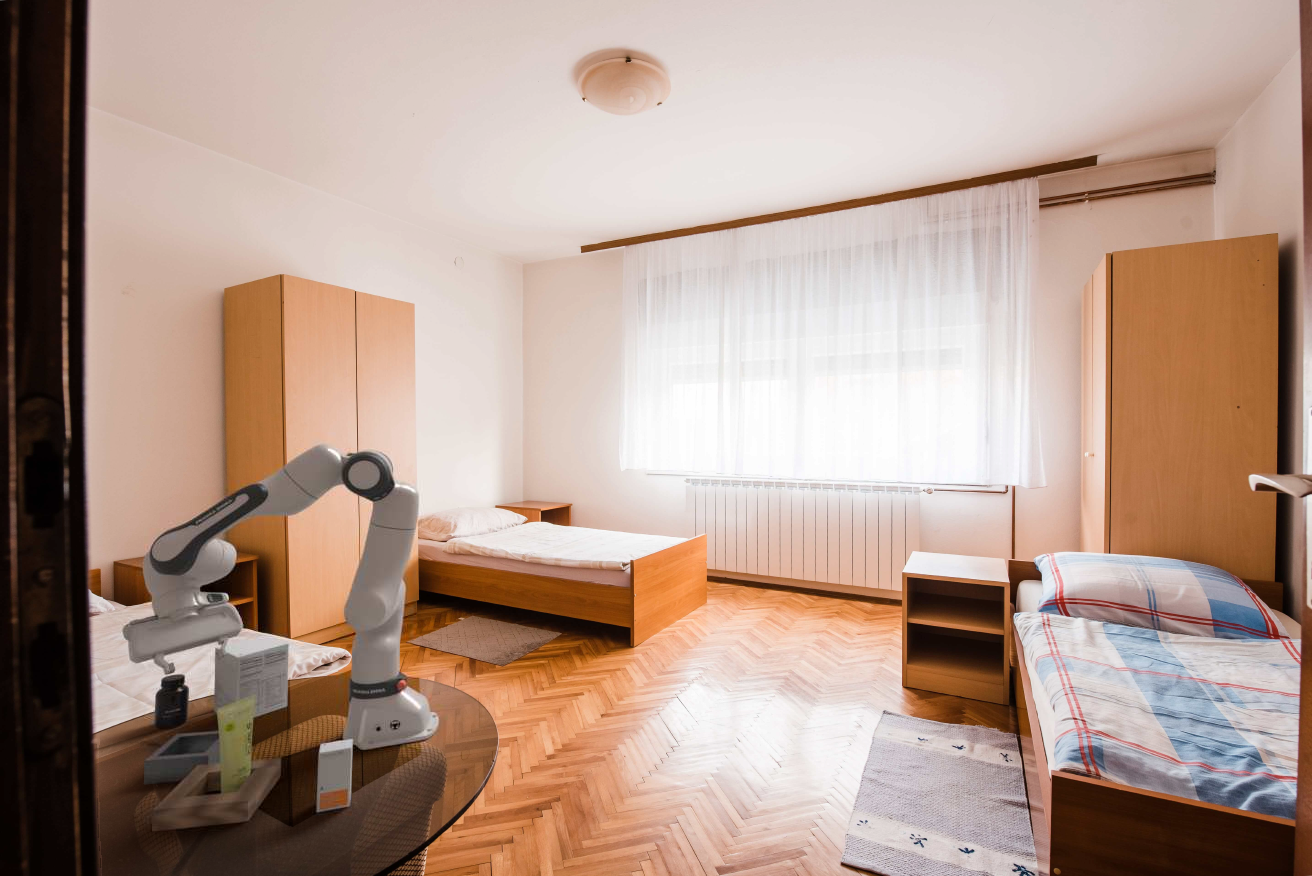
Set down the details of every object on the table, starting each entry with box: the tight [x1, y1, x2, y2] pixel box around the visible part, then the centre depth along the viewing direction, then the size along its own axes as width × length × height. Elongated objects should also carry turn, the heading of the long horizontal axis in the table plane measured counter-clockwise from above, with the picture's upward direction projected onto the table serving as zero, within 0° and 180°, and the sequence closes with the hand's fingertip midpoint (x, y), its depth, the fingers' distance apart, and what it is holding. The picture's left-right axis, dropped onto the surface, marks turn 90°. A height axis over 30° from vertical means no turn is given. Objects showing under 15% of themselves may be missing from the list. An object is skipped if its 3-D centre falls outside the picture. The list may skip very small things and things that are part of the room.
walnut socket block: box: [151, 757, 282, 832], centre depth 122 cm, size 16×16×4 cm
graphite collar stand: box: [143, 730, 220, 785], centre depth 135 cm, size 12×12×5 cm
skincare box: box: [316, 739, 354, 813], centre depth 122 cm, size 6×4×12 cm
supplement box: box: [213, 635, 290, 719], centre depth 164 cm, size 13×13×18 cm
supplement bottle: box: [153, 673, 190, 730], centre depth 155 cm, size 7×7×12 cm
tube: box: [216, 695, 255, 794], centre depth 124 cm, size 6×5×20 cm
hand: (197, 665), depth 131 cm, fingers open, 8 cm apart
